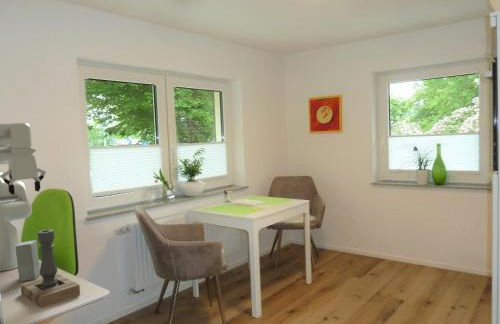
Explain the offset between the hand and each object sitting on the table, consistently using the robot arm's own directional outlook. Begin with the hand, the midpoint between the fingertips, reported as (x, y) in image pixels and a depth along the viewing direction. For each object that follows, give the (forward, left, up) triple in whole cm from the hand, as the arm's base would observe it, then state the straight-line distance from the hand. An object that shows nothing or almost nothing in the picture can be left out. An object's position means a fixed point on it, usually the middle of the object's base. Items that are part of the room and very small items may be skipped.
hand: (25, 192), depth 164 cm
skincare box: (-5, +1, -38) cm, 39 cm away
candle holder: (+23, -1, -38) cm, 45 cm away
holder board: (+23, -1, -38) cm, 45 cm away
